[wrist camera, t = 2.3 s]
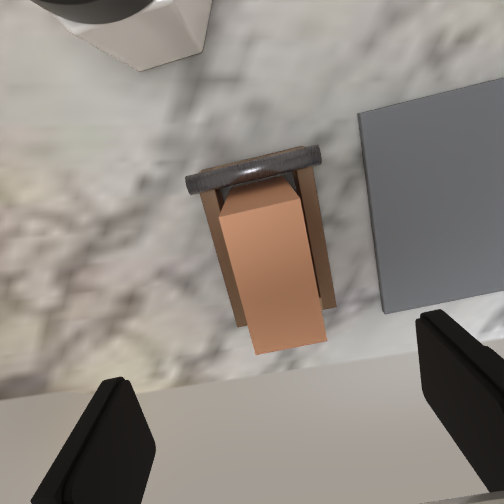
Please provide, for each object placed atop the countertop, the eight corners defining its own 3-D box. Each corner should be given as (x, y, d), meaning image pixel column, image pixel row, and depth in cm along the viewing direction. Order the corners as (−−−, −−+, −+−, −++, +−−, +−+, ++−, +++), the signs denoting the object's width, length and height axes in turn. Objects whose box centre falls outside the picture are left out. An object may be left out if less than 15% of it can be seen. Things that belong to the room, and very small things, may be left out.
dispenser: (307, 143, 25) (319, 144, 21) (332, 286, 29) (346, 313, 24) (196, 170, 26) (183, 177, 21) (234, 306, 29) (230, 337, 25)
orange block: (282, 175, 26) (300, 198, 16) (302, 272, 28) (327, 340, 19) (230, 187, 26) (218, 217, 17) (254, 282, 29) (255, 355, 19)
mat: (564, 62, 23) (571, 61, 23) (553, 276, 28) (560, 279, 28) (357, 113, 24) (359, 113, 24) (382, 310, 29) (385, 314, 29)
